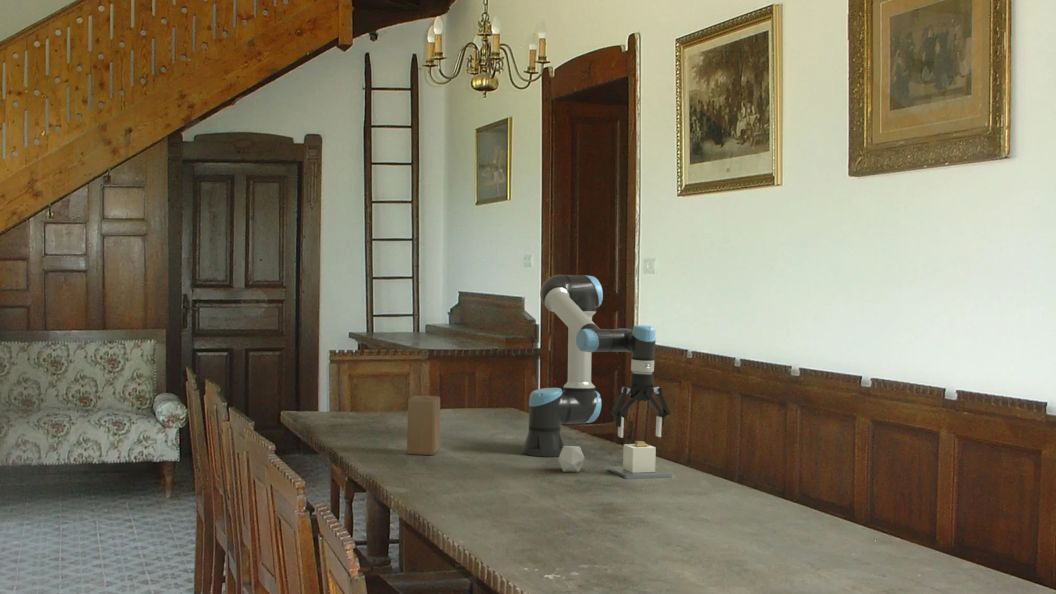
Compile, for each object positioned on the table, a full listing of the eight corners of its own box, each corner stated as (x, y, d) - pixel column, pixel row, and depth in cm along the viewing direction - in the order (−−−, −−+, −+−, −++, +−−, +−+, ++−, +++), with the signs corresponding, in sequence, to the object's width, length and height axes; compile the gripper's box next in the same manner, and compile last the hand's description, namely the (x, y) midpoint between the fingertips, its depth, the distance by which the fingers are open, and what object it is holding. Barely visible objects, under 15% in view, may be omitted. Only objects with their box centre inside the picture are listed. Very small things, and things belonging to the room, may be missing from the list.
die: (575, 476, 358) (591, 451, 361) (552, 461, 359) (568, 436, 362) (573, 481, 366) (589, 456, 369) (551, 466, 367) (567, 441, 370)
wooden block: (439, 451, 395) (440, 396, 395) (434, 456, 385) (435, 399, 385) (411, 450, 396) (413, 394, 396) (406, 454, 386) (407, 397, 386)
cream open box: (632, 472, 358) (633, 447, 358) (623, 468, 366) (623, 443, 365) (655, 471, 361) (655, 446, 360) (645, 467, 368) (645, 442, 368)
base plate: (626, 478, 353) (627, 446, 353) (607, 469, 368) (608, 438, 368) (671, 477, 358) (672, 445, 358) (651, 468, 373) (652, 437, 373)
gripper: (611, 373, 355) (608, 439, 356) (681, 374, 363) (678, 437, 363) (602, 371, 362) (600, 435, 363) (672, 371, 370) (669, 434, 371)
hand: (639, 436), depth 363 cm, fingers open, 13 cm apart
